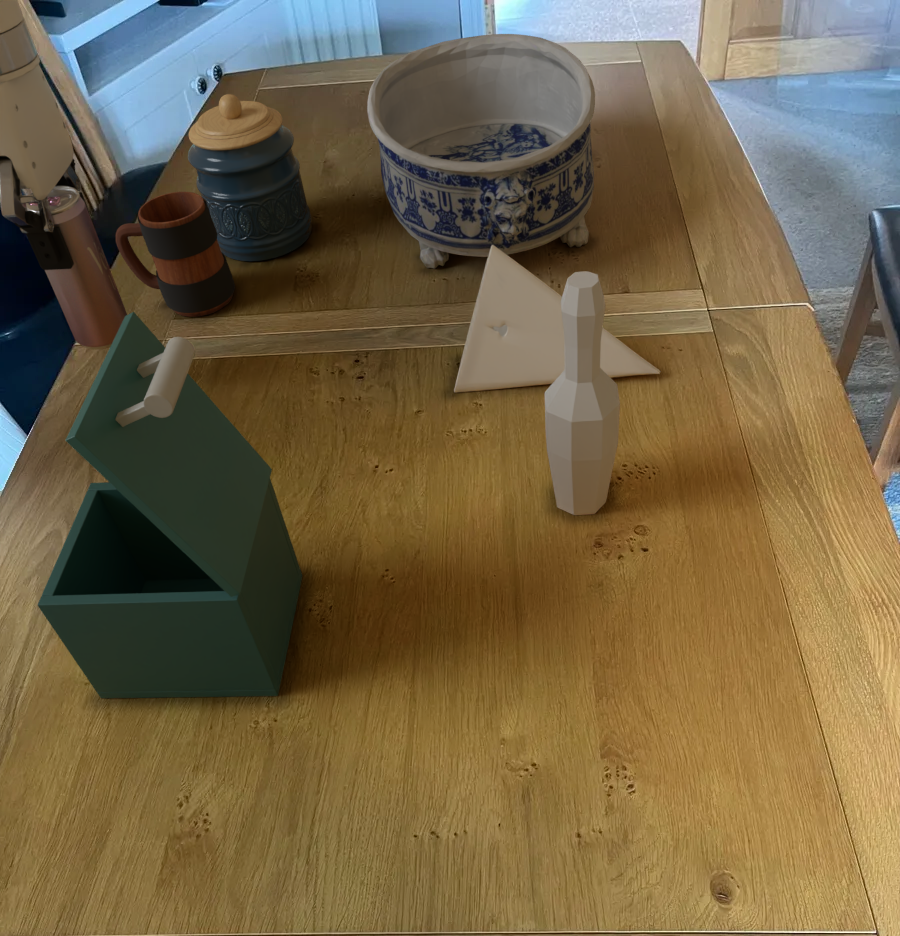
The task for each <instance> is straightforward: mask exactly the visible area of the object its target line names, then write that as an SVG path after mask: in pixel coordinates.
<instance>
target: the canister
mask: <svg viewBox="0 0 900 936" xmlns="http://www.w3.org/2000/svg"><path fill="white" fill-rule="evenodd" d="M188 138H189V141H190V143H192V145H191V146H190V148H189V150H188V153H187V159H188V162H189V163H190V165H191V166H192V167H193V168H194V169H196V170H195V171H196V175H197V177H196V183H195V184H196V188H197V190H198V192H199V193H200V196H201V197H202V198H203V199H205V201H206V202H207V205H208V208H209V212H210V215H211V218H212V220H213V223H214V226H215V229H216V231H217V241H218V244H219V247H220V250H221V252H222V253H223V254H224V256H225V257H226V258H230V259H232V260H236V261H241V262H261V261H266V260H272V259H276V258H279V257H282V256H284V255H287V254H289V253H291V252H294V251H295V250H297V249H299V248H300V247H301V246H302V245H303V244H304V243H306V242H307V240H308V239H309V238H310V236H311V234H312V231H313V230H312V228H313V227H312V215H311V209H310V207H309V205H308V202H307V197H306V194H305V193H306V192H305V189H304V184H303V180H302V175H301V171H300V170H301V169H300V168H301V165H300V161H299V160H298V158H297V157H296V156H295V155H294V152H293V149H292V148H293V146H294V141H295V136H294V134H293V133H292V131H291V130H290V129H289V128H288V127H286V126H284V125H283V117H282V115H281V113H280V112H279V111H278V110H277V109H275V108H273V107H269V106H266V104H264V103H262V102H259V101H255V100H254V101H253V100H240V99H239V98H238V97H237V96H236V95H235V94H233V93H227V94H224V95H222V96H221V97H220V99H219V101H218V105H217V106H214V107H211V108H210V109H207V110H206V111H204V112H203V113H202V114H201V115H200V116H199V118H198V119H197V120H196V122H195V123H193V125H192V126H191V127H190V129H189V132H188Z"/></svg>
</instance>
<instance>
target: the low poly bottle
mask: <svg viewBox="0 0 900 936" xmlns="http://www.w3.org/2000/svg"><path fill="white" fill-rule="evenodd" d="M561 296H562V298H561V311H562V320H563V329H564V358H565V370H564V371H563V372H562V373H561V375H560V376H559V377H558V378H557V379H556V380H555V381H554V382H553V383H552V384H550V385H549V387H548V388H547V389H546V390H545V391H544V423H545V426H544V427H545V442H546V454H547V459H548V464H549V470H550V475H551V482H552V486H553V492H554V498H555V502H556V503H555V504H556V508H558V509H560V510H562V511H564V512H567V513H569V514H571V515H572V516H583V515H596V513H597V512H598V511H599V510H601V508H602V507H603V506H604V505H605V504H606V503H607V500H608V499H607V498H608V493H609V489H610V484H611V480H612V475H613V469H614V464H615V460H616V454H617V451H618V447H619V446H618V445H619V433H620V413H621V412H620V410H621V401H620V394H619V389H618V388H619V387H618V383H617V382H615V380H613V378H610V377H609V376H608V375H607V374H606V373H605V372H604V371H603V370H602V369H601V368H600V351H601V336H602V328H604V320H605V313H606V300H605V296H604V291H603V288H602V285H601V282H600V277H599V274H598V273H594V272H591V271H588V270H587V271H575V272H573V273H572V274H571V275H570V276H568V277H567V280H566V282H565V286H564V289H563V292H562V294H561Z"/></svg>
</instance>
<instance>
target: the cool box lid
mask: <svg viewBox="0 0 900 936" xmlns="http://www.w3.org/2000/svg"><path fill="white" fill-rule="evenodd" d="M195 355H196V349H195V346H194V344H193V343H192V342H191V340H189V339H188V338H185V337H182V336H174V337H171V338H170V339H169V340H168V341H167V342H166V345H164V344H163V343H162V342H161V341H160V340H159V338H158V337H157V336H156V334H154V333H153V332H152V331H151V329H150V328H149V327H148V326H147V325H146V323H144V321H143V319H141V318H140V317H139V316H138V314H136V312H134V311H132V312H130V313H127V315H126V316H125V318H124V320H123V322H122V324H121V326H120V328H119V330H118V332H117V334H116V336H115V338H114V340H113V342H112V345H111V347H110V348H108V351H107V353H106V355H105V357H104V359H103V362H102V363H101V365H100V368H99V370H98V372H97V373H96V376H95V378H94V379H93V382H92V384H91V386H90V388H89V390H88V392H87V394H86V396H85V398H84V401H83V403H82V404H81V407H80V409H79V411H78V413H77V415H76V416H75V419H74V421H73V423H72V426H71V427H70V430H69V432H68V434H67V436H66V438H65V442H66V443H67V444H68V445H69V446H70V447H71V448H72V449H73V450H74V451H76V452H77V453H78V454H79V455H80V457H82V458H83V459H84V460H85V461H86V462H87V463H88V464H89V465H90V466H91V467H92V468H93V469H95V470H96V471H97V472H98V474H100V475H101V476H102V477H103V478H104V479H105V480H106V481H107V482H110V483H111V484H112V485H113V486H114V487H115V488H116V489H117V490H118V491H119V492H120V493H121V494H122V495H123V496H125V497H126V498H127V499H128V500H129V501H130V502H131V503H132V504H133V505H134V506H135V507H136V508H137V509H138V510H139V511H140V512H141V513H143V514H144V515H145V516H146V517H147V518H148V519H149V520H150V521H151V522H152V523H153V524H154V525H155V526H156V527H157V528H158V529H160V530H161V531H162V532H163V533H164V534H165V535H166V536H167V537H168V538H169V539H170V540H171V541H172V542H173V543H174V544H175V545H177V546H178V547H179V548H180V549H181V550H182V551H183V552H184V553H185V554H186V555H187V556H188V557H189V558H190V559H191V560H192V561H193V562H195V563H196V564H197V565H198V566H199V567H200V568H201V569H202V570H203V571H204V572H205V573H206V574H207V575H208V576H209V577H210V578H212V579H213V580H214V581H215V582H216V583H217V584H218V585H219V586H220V587H221V588H222V589H223V590H224V591H225V592H226V593H227V594H228V595H230V596H231V597H233V596H236V595H239V594H240V592H241V588H242V584H243V580H244V577H245V573H246V569H247V565H248V561H249V557H250V553H251V549H252V545H253V542H254V538H255V534H256V530H257V526H258V522H259V518H260V514H261V511H262V507H263V503H264V499H265V495H266V491H267V487H268V483H269V479H271V475H272V471H273V468H272V467H271V465H269V464H268V463H267V462H266V461H265V460H264V458H263V457H262V456H261V455H260V454H259V452H257V450H256V449H255V448H254V447H253V446H252V444H251V443H250V442H249V441H248V440H247V439H246V437H245V436H244V435H243V434H242V433H241V431H239V430H238V429H237V428H236V426H235V425H234V424H233V423H232V422H231V421H230V420H229V418H228V417H227V416H226V415H225V413H223V412H222V410H221V409H220V408H219V407H218V406H217V405H216V404H215V402H214V401H213V400H212V399H211V398H210V397H209V396H208V394H207V393H206V392H205V391H204V389H202V388H201V386H199V384H198V383H197V382H196V380H194V378H193V377H192V376H191V375H190V374H189V371H190V368H191V365H192V363H193V361H194V358H195Z"/></svg>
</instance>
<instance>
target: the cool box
mask: <svg viewBox="0 0 900 936" xmlns="http://www.w3.org/2000/svg"><path fill="white" fill-rule="evenodd" d="M62 545H63V546H62V548H61V550H60V552H59V554H58V557H57V559H56V561H55V564H54V566H53V568H52V570H51V573H50V575H49V578H48V580H47V581H46V584H45V586H44V588H43V591H42V593H41V596H40V598H39V601H38V602H37V608H39V610H40V611H41V613H42V615H43V616H44V618H45V619H46V620H47V622H48V623H49V624H50V626H51V627H52V629H53V630H54V632H55V633H56V635H57V637H58V638H59V639H60V640H61V642H62V643H63V645H64V647H65V648H66V649H67V651H68V653H69V655H71V657H72V659H73V660H74V661H75V663H76V664H77V665H78V667H79V669H80V670H81V672H82V673H83V674H84V676H85V677H86V679H87V680H88V682H89V684H90V685H91V686H92V688H93V690H94V691H95V692H96V693H97V695H98V696H99V698H100V699H151V698H153V699H154V698H155V699H156V698H157V699H159V698H166V699H167V698H227V697H228V698H229V697H231V698H232V697H233V698H235V697H239V698H240V697H278V696H279V693H280V689H281V684H282V680H283V679H282V678H283V674H284V668H285V663H286V659H287V654H288V649H289V643H290V639H291V635H292V629H293V624H294V620H295V615H296V609H297V605H298V600H299V595H300V590H301V585H302V582H303V581H302V580H303V574H302V573H303V572H302V569H301V567H300V564H299V561H298V557H297V555H296V552H295V548H294V545H293V543H292V539H291V537H290V533H289V532H288V528H287V525H286V522H285V519H284V516H283V513H282V510H281V506H280V504H279V500H278V498H277V495H276V492H275V489H274V484H273V482H272V479H271V478H270V479H269V483H268V487H267V491H266V495H265V499H264V503H263V507H262V511H261V514H260V518H259V522H258V526H257V530H256V534H255V538H254V542H253V545H252V549H251V553H250V557H249V561H248V565H247V569H246V573H245V577H244V580H243V584H242V588H241V592H240V594H239V595H236V596H233V597H231V596H230V595H228V594H227V593H226V592H225V591H224V590H223V589H222V588H221V587H220V586H219V585H218V584H217V583H216V582H215V581H214V580H213V579H212V578H210V577H209V576H208V575H207V574H206V573H205V572H204V571H203V570H202V569H201V568H200V567H199V566H198V565H197V564H196V563H195V562H193V561H192V560H191V559H190V558H189V557H188V556H187V555H186V554H185V553H184V552H183V551H182V550H181V549H180V548H179V547H178V546H177V545H175V544H174V543H173V542H172V541H171V540H170V539H169V538H168V537H167V536H166V535H165V534H164V533H163V532H162V531H161V530H160V529H158V528H157V527H156V526H155V525H154V524H153V523H152V522H151V521H150V520H149V519H148V518H147V517H146V516H145V515H144V514H143V513H141V512H140V511H139V510H138V509H137V508H136V507H135V506H134V505H133V504H132V503H131V502H130V501H129V500H128V499H127V498H126V497H125V496H123V495H122V494H121V493H120V492H119V491H118V490H117V489H116V488H115V487H114V486H113V485H112V484H111V483H110V482H109V481H106V482H105V481H103V482H90V484H89V486H88V488H87V490H86V492H85V494H84V497H83V499H82V501H81V503H80V506H79V509H78V511H77V513H76V515H75V518H74V520H73V523H72V525H71V527H70V529H69V532H68V534H67V536H66V539H65V541H64V543H63V544H62Z"/></svg>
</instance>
